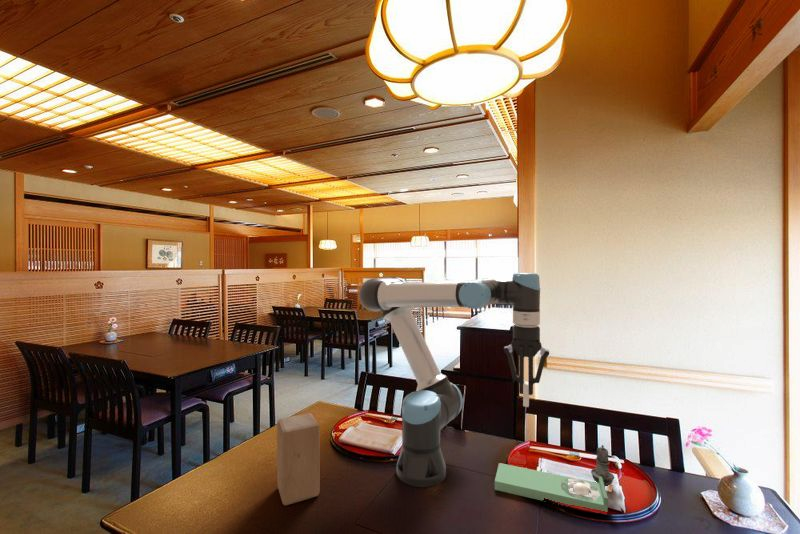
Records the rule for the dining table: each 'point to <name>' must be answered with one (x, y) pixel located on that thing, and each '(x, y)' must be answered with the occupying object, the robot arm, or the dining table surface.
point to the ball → (580, 489)
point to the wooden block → (298, 458)
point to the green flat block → (549, 487)
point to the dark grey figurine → (602, 467)
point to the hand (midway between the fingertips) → (526, 404)
